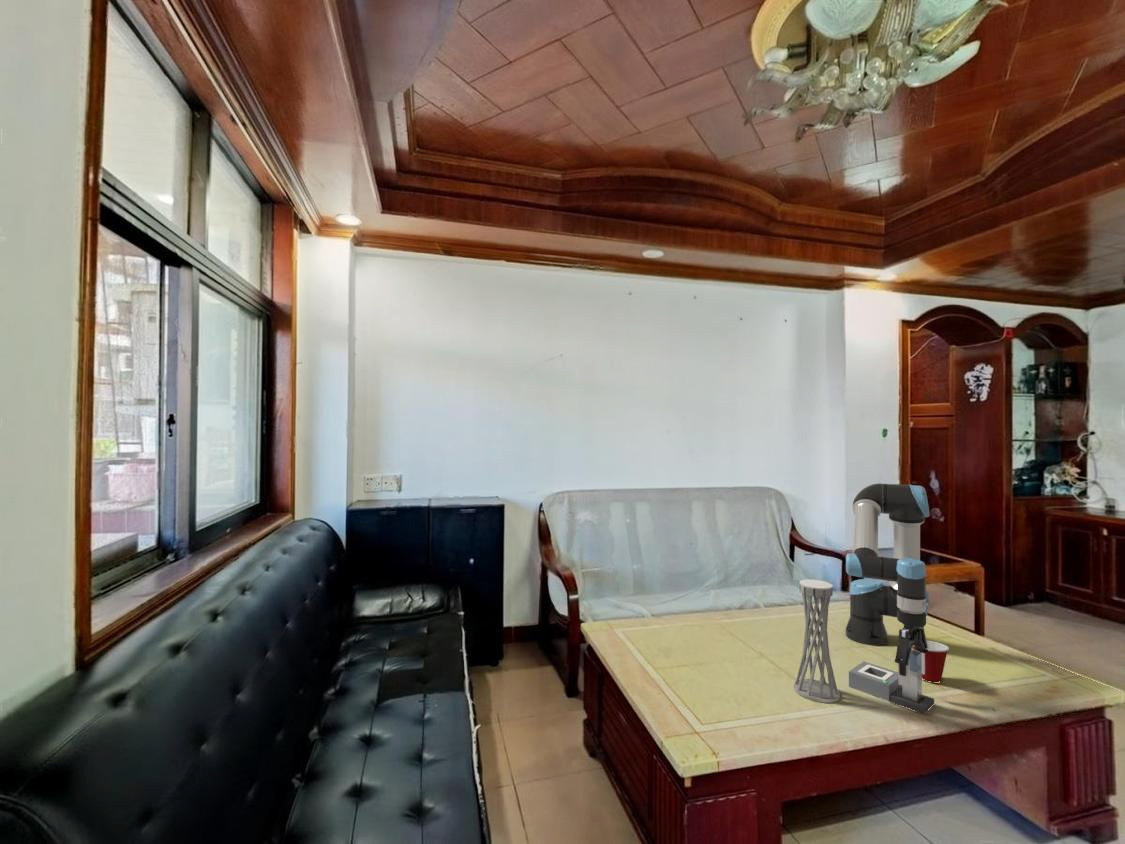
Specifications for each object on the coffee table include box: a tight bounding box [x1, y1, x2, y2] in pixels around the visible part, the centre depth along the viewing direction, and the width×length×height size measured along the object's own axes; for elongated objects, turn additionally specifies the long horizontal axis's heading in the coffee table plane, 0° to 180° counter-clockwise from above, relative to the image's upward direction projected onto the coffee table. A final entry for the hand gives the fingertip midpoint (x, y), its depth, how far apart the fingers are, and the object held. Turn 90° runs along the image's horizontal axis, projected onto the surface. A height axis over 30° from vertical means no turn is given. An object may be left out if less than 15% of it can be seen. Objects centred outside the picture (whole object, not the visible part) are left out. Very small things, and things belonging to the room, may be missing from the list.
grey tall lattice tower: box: [793, 578, 841, 704], centre depth 168 cm, size 14×13×35 cm
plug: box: [902, 649, 923, 704], centre depth 161 cm, size 4×4×15 cm
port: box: [848, 661, 902, 701], centre depth 171 cm, size 12×12×5 cm
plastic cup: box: [912, 640, 950, 682], centre depth 177 cm, size 11×11×12 cm
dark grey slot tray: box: [889, 687, 935, 715], centre depth 161 cm, size 9×9×2 cm
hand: (912, 679), depth 161 cm, fingers open, 13 cm apart
